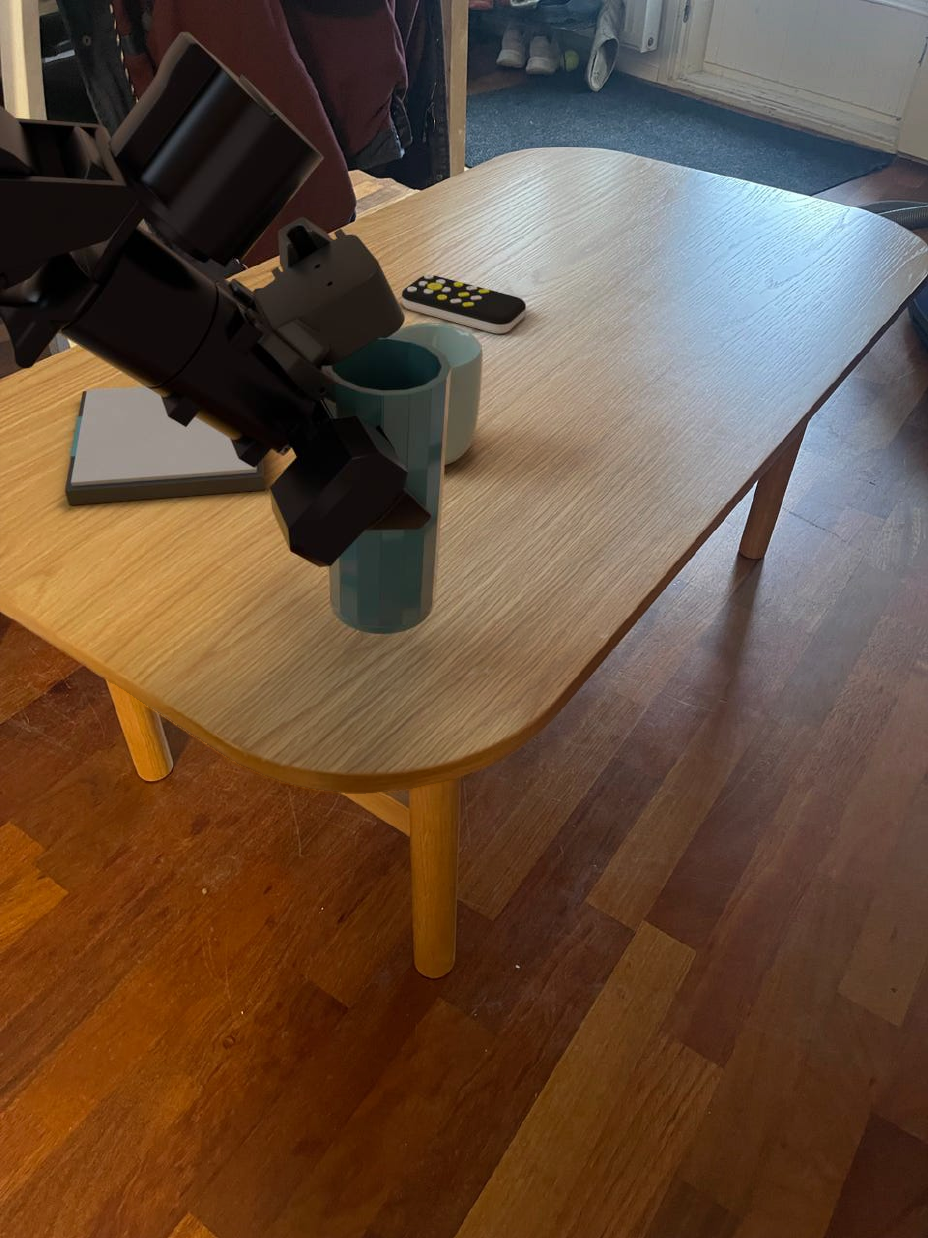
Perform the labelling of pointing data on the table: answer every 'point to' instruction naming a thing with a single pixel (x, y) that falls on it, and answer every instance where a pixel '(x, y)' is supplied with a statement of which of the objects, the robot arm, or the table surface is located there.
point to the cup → (455, 380)
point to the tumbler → (417, 428)
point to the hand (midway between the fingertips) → (403, 486)
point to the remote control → (464, 303)
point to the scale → (148, 452)
